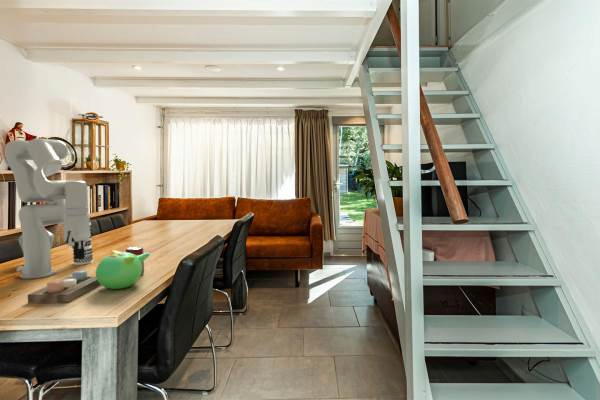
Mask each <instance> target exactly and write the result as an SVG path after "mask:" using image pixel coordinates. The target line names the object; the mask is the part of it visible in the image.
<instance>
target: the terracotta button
mask: <svg viewBox="0 0 600 400" xmlns="http://www.w3.org/2000/svg"><path fill="white" fill-rule="evenodd" d="M46 286H47V294H56V293H61V292H63V291H64V281H62V279H60V280H54V281H53V280H52V281H49V282H47V283H46Z"/></svg>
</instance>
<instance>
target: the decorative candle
mask: <svg viewBox="0 0 600 400" xmlns="http://www.w3.org/2000/svg"><path fill="white" fill-rule="evenodd" d="M88 218H89V224H90V237H89V238H88V241H87V242H86V243H85V248H84V255H85V257H84V258H83V259H74V249H72V255H73V257H72V258H73V265H78V266H81V265H88V264H92V263H93V262H94V257H93V256H94V255H93V248H92V247H93V246H92V239H93V236H92V234H93V232H92V231H93V229H92V227H93V225H92V223H91V216H90V215H89V214H88Z"/></svg>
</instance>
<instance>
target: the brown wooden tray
mask: <svg viewBox="0 0 600 400" xmlns="http://www.w3.org/2000/svg"><path fill="white" fill-rule="evenodd" d="M66 279H73V278H72V276H67V277H65V278H63V279H61V280H66ZM76 284H77V285H75V286H73V287H64V291H63V292H61V293H56V294H47V285H46V286H44V287H42V288H40V289H37V290H35V291H33V292H30V293H28V294H27V304H70V303H71V302H73V301H75V300H77V299H78V298H80V297H82V296H84V295H86V294H87V293H89V292H91V291H93V290H95V289H97V288H98V287H100V286H102V285H101V284H100V283H99V282H98V280H97V278H96V275H95V276H89V275H87V280H85V281H83V282H76Z"/></svg>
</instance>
